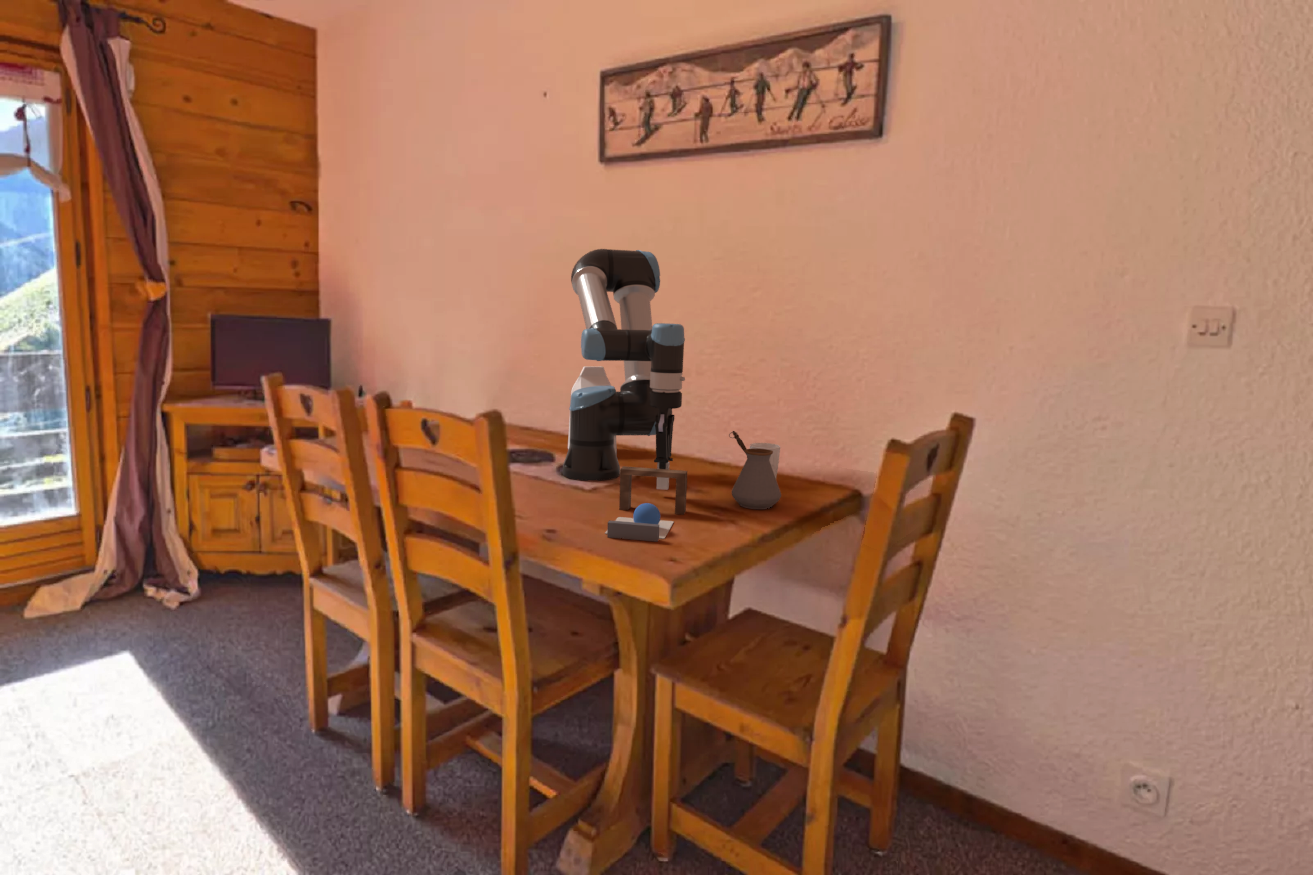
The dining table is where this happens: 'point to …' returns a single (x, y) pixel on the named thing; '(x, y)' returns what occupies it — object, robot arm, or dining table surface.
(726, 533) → the dining table surface
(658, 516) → the ball
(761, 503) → the coffee pot
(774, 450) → the white cup
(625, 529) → the stopper wall
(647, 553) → the dining table surface
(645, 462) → the dining table surface
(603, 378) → the milk
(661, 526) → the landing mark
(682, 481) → the bridge
